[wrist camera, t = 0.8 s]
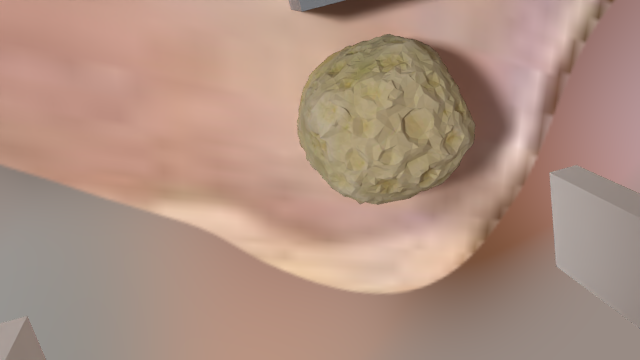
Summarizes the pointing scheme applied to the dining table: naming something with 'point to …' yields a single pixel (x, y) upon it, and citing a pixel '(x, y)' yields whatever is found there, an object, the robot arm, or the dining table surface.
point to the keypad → (309, 4)
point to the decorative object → (384, 120)
